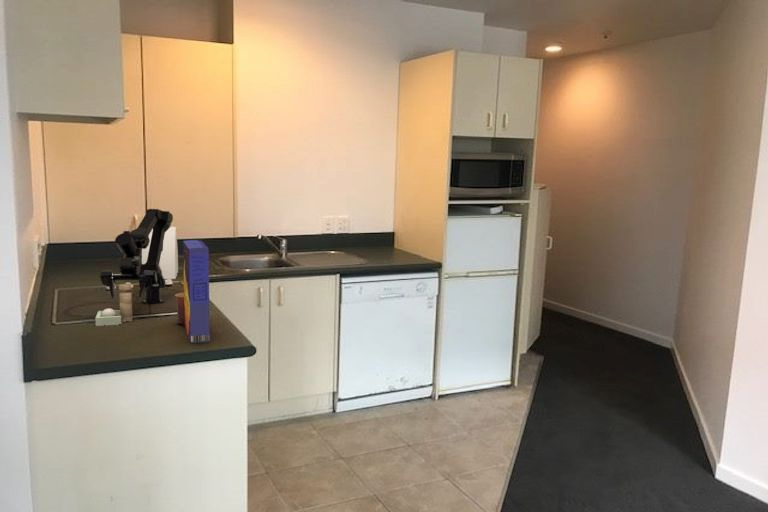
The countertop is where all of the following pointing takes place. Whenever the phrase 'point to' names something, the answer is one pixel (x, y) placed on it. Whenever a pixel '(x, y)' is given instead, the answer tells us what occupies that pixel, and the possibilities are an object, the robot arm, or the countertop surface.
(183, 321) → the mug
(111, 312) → the ball
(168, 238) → the milk carton
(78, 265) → the countertop surface
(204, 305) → the cereal box
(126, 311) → the player peg
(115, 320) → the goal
